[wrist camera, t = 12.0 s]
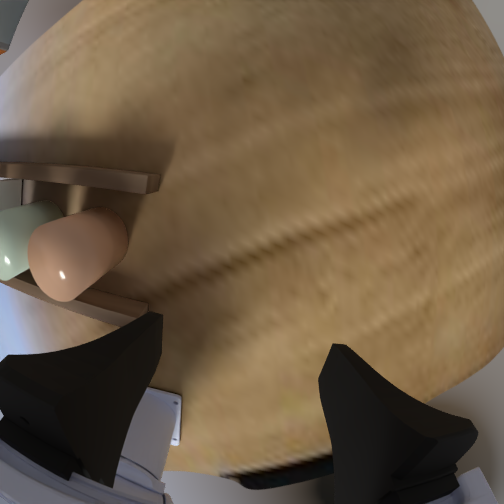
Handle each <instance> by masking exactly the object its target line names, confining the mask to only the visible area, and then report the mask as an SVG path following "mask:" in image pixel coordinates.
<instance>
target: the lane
mask: <svg viewBox="0 0 504 504" xmlns="http://www.w3.org/2000/svg"><path fill="white" fill-rule="evenodd" d="M0 177H4V178H16V179H26V180H37V181H46V182H56V183H64V184H73V185H81V186H89V187H97V188H105V189H112V190H119V191H126V192H133V193H140V194H149V193H153V192H157V191H158V189H159V182H160V174H152V173H144V172H136V171H128V170H119V169H109V168H99V167H89V166H77V165H63V164H48V163H27V162H0ZM0 282H1V283H3V284H5V285H7V286H9V287H12V288H14V289H16V290H19V291H21V292H23V293H26V294H28V295H31V296H33V297H35V298H38V299H41V300H43V301H46V302H48V303H51V304H54V305H56V306H59V307H62V308H64V309H67V310H70V311H73V312H76V313H79V314H82V315H85V316H88V317H91V318H94V319H97V320H100V321H103V322H106V323H110V324H113V325H116V326H120V327H123V326H125V325H126V324H128V323H130V322H132V321H134V320H135V319H137V318H139V317H140V316H142V315H144V314H146V313H147V312H148V303H144V302H140V301H136V300H132V299H128V298H125V297H121V296H117V295H113V294H110V293H106V292H102V291H99V290H95V289H92V288H87V289H86V290H84V291H83V292H82V293H81V294H79V295H78V296H77V297H76V298H75V299H73V300H71V301H67V302H61V301H57V300H54V299H52V298H51V297H49V296H48V295H46V294H45V293H44V292H43V291H42V290H41V289H40V287H39V286H38V285H37V283H36V281H35V280H34V278H33V276H32V273H31V270H30V269H27V270H25V271H24V272H22V273H20V274H18V275H17V276H15V277H13V278H11V279H10V280H7V281H4V280H1V279H0Z"/></svg>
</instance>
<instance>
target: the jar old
mask: <svg viewBox="0 0 504 504" xmlns="http://www.w3.org/2000/svg"><path fill="white" fill-rule="evenodd" d="M63 217H64V216H63V214H62V212H61V210H60V209H59V207H58V206H57V205H56V204H55V203H53V202H51V201H49V200H42V201H38V202H34V203H30V204H26V205H22V206H18V207H14V208H10V209H6V210H3V211H0V279H1V280H4V281H7V280H10V279H11V278H13V277H15V276H17V275H18V274H20V273H22V272H24V271H25V270H27V269H29V268H30V267H29V263H28V254H27V251H28V243H29V239H30V237H31V235H32V233H33V231H34V230H35V229H36V228H37V227H39V226H40V225H43V224H45V223H48V222H51V221H54V220H57V219H60V218H63Z"/></svg>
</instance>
